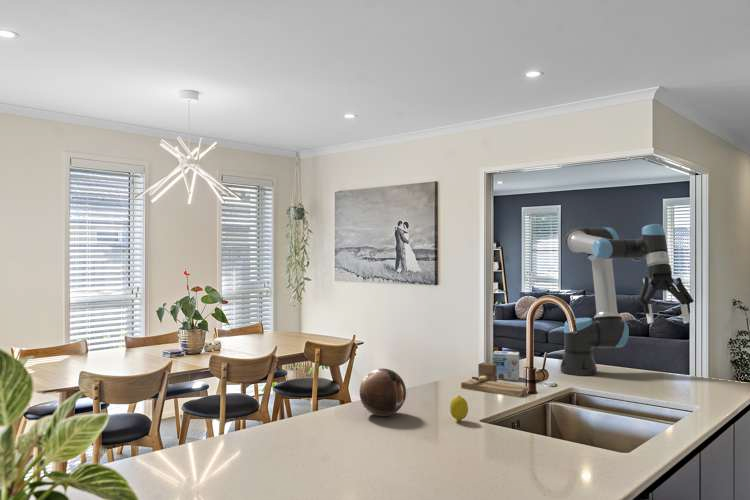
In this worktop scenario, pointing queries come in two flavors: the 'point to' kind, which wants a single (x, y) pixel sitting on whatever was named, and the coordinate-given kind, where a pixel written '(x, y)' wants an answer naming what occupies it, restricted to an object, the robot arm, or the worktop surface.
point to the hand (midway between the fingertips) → (668, 322)
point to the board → (496, 387)
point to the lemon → (459, 408)
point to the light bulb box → (507, 365)
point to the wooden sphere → (382, 392)
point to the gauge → (486, 373)
